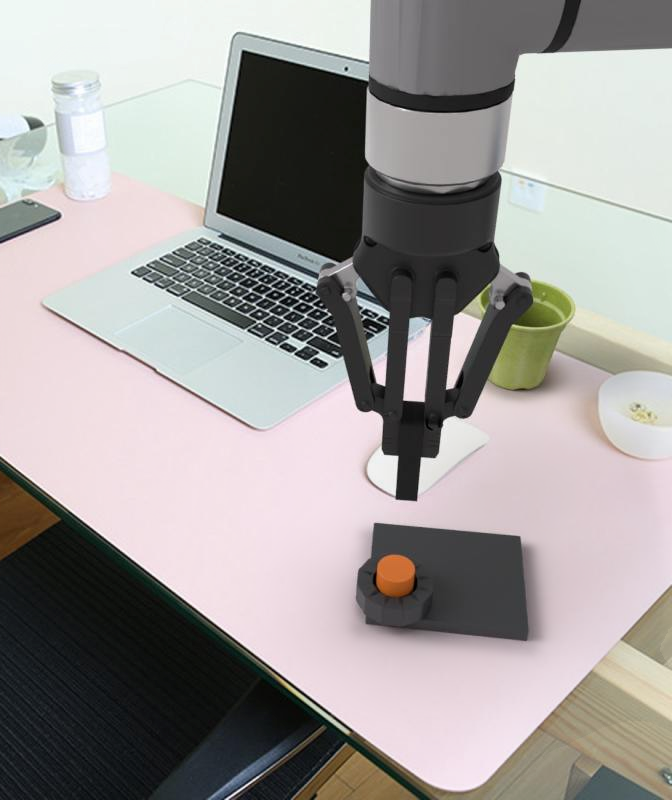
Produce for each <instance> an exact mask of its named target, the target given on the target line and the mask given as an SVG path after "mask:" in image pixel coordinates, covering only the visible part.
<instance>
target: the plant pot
mask: <svg viewBox="0 0 672 800" xmlns="http://www.w3.org/2000/svg"><path fill="white" fill-rule="evenodd" d="M531 286H532V294H533V304H532V306H531V307H530V308H529V309H528V310H527V311H526V312H525V313H524V314H523V315H522V316H521V317H520V318H519V319H518V320H517V321H516V322H515V323H514V324H513V325H512V326H511V328H510V330H509V333H508V335H507V337H506V339H505V342H504V344H503V346H502V348H501V351H500V353H499V355H498V357H497V359H496V362H495V364H494V366H493V368H492V371H491V373H490V375H489V377H488V380H489V381H490V382H491V383H493V384H494V385H496V386H498V387H500V388H503V389H507V390H511V391H513V390H517V389H526V390H531V389H534V388H536V387H539V386H540V385H541V384H542V382H543V381H544V379H545V377H546V374H547V371H548V368H549V366H550V364H551V359H552V357H553V355H554V352H555V350H556V347H557V345H558V342H559V340H560V336H561V334H562V332H563V331H564V330H565V329H566V327H567V325H568V324H569V323H570V322H571V321H572V320H573V318H574V316H575V313H576V304H575V301H574V299H573V298H572V297H571V296H570V295H569V294H568V293H567V292H565V291H564V290H563V289H561V288H559V287H557V285H556V286H555V285H553V284H552V283H551V284H550V283H548V282H545V281H542V280H537V279H531ZM490 287H491V284H489V285H488V286H487V287H486V288H485V289H484V290H483V291H482V292H481V293H480V294H479V295H478V296H477V306H478V308H479V310H480V314H481V320H482V319H483V316H484V314H485V312H486V309H487V307H488V305H489V303H490V300H489V289H490Z"/></svg>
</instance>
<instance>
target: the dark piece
mask: <svg viewBox="0 0 672 800" xmlns="http://www.w3.org/2000/svg"><path fill="white" fill-rule="evenodd" d="M372 528H373V529H372V540H371V549H370V557H369V558H368V559H367V560H366V561H365V562H364V563H363V564H362V565H361V567H359V569H357V570H358V571H357V578H356V589H355V601H356V603H357V605H358V606H359V608H360V610H361V611H362V613H363V615H365V618H364V619H365V620H364V622H365V623H364V624H365V625H369V626H380V627H389V628H397V629H399V628H400V629H407V630H408V629H409V630H418V631H427V632H428V631H429V632H437V633H446V634H454V635H456V634H457V635H465V636H473V637H483V638H494V639H501V640H502V639H503V640H510V641H511V640H512V641H521V642H527V640H528V636H529V632H530V631H529V629H530V628H529V618H528V608H527V607H528V606H527V596H526V595H527V594H526V583H525V571H524V562H523V561H524V559H523V549H522V548H523V547H522V538H521V536H520V535H512V534H501V533H491V532H480V531H470V530H461V529H460V530H458V529H448V528H438V527H437V528H436V527H425V526H415V525H405V524H393V523H392V524H391V523H384V522H373V527H372ZM389 555H401V556H404V557H406V558H408V559H409V560H411V561H412V563H413V564H414V566H415V577H414V586H413V590H412V591H411V592H410V593H409V594H408V595H407V596H404V597H401V598H392V597H388V596H386V595H384V594H383V593H381V592H380V591H379V589H378V587H377V584H376V580H377V567H378V563H379V561H380V560H381V559H382V558H384V557H386V556H389Z"/></svg>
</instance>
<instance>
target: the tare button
mask: <svg viewBox="0 0 672 800" xmlns="http://www.w3.org/2000/svg"><path fill="white" fill-rule="evenodd" d="M414 577H415V566H414V564H413V563H412V561H411V560H409V559H408V558H406V557H404V556H401V555H389V556H386V557H384V558H382V559H381V560H380V561H379V563H378V567H377V580H376V584H377V587H378V589H379V591H380V592H381V593H383V594H384V595H386V596H388V597H392V598H401V597H404V596H407V595H408V594H409V593H410V592H411V591H412V590H413V586H414Z"/></svg>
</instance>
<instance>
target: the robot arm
mask: <svg viewBox="0 0 672 800" xmlns="http://www.w3.org/2000/svg"><path fill="white" fill-rule="evenodd" d="M369 12H370V13H369V15H370V16H369V51H368V52H369V55H368V56H369V57H368V86H367V87H366V107H365V108H366V109H365V139H364V143H365V144H364V157H365V160H366V162H367V164H368V166H367V167H366V168H365V170H364V174H363V176H364V178H363V199H362V226H361V231H362V232H361V236H360V237H359V239H358V241H357V242H356V243H355V245H354V248H353V255H352V256H351V257H350V258H348V259H346V260H343V261H341V262H340V263H338V264H335V263H333V262H325V263H324V264H322V265H321V266H320V268H319V273H318V279H317V283H316V287H315V293H316V295H317V297H318V298H319V300H320V301H321V303H322V304H323V305H324V306H325V308H326V309H327V310H328V312H329V314H330V315H331V316H332V319H333V323H334V327H335V330H336V334H337V338H338V342H339V347H340V350H341V353H342V358H343V361H344V365H345V369H346V373H347V377H348V380H349V384H350V388H351V392H352V396H353V399H354V405H355V407H356V409H357V410H358V411H359V412H361V413H369V412H371V411H372V412H375V413H377V414H378V415H380V417H381V418H382V433H381V451H382V453H383V455H384V456H392V457H394V456H395V457H397V467H396V468H397V469H396V484H395V500H396V501H408V502H418V495H419V488H420V487H419V485H420V474H421V465H422V464H421V463H422V458H424V459H436V458H437V457H438V456H439V454H440V448H441V447H440V446H441V439H442V438H441V436H442V429H443V427H444V421H446V420H447V419H450V418H453V417H456V418H458V419H461V420H465V419H468V418H471V416H472V415H473V413H474V411H475V408H476V406H477V404H478V402H479V399H480V398H481V395H482V393H483V390H484V389H485V386H486V384H487V382H488V380H489V379H488V377H489V375H490V373H491V371H492V368H493V366H494V364H495V362H496V359H497V357H498V355H499V353H500V351H501V348H502V346H503V344H504V342H505V339H506V337H507V335H508V333H509V330H510V328H511V326H512V325H513V324H514V323H515V322H516V321H517V320H518V319H519V318H520V317H521V316H522V315H523V314H524V313H525V312H526V311H527V310H528V309H529V308H530V307H531V306H532V304H533V294H532V286H531V280H532V278H531V276H530V275H529V274H528V273H527V272H525V271H518V272H515V273H514V272H513V271H512V270H510V269H508V268H507V267H505V265H503V264H502V263H501V262H500V252H499V249H498V248H497V246H496V243H495V236H496V229H497V222H498V214H499V206H500V198H501V190H502V183H503V179H502V175H501V173H500V171H499V170H500V169H501V168H502V167H503V165H504V164H505V161H506V153H507V144H508V138H509V137H508V136H509V127H510V120H511V113H512V105H513V104H512V103H513V96H514V91H515V84H516V70H517V66H518V62H519V59H520V56H523V55H525V54H526V55H527V54H538V55H539V54H556V53H581V52H583V53H584V52H608V51H609V52H611V51H612V52H613V51H614V52H615V51H636V50H637V51H639V50H666V49H667V50H669V49H670V50H671V49H672V0H370V11H369ZM358 279H360V280H361V281H362V282H363V283H364V285H365V286H366V288H367V289H368V290H369V292H370V293H371V294H372V296H373V297H374V298H375V300H376V301H377V302H378V303H379V305H380V306H381V307H382V308H383V309H384V310H385V311H387V313H389V314H388V315H389V317H388V331H387V332H388V333H387V334H388V335H387V350H386V367H385V380H384V381H385V383H384V385H383V384H380V383H378V382H377V377H376V373H375V370H374V366H373V361H372V357H371V353H370V349H369V344H368V340H367V337H366V333H365V327H364V323H363V319H362V316H361V315H362V314H361V312H360V311H361V310H360V307H359V304H358V303H359V302H358V299H357V295H358V290H359V281H358ZM489 284H491V287H490V289H489V300H490V303H489V305H488V307H487V309H486V312H485V314H484V316H483V319H482V318H481V321H480V323H479V326H478V328H477V330H476V333H475V335H474V338H473V340H472V343H471V346H470V347H469V349H468V352H467V355H466V357H465V359H464V361H463V364H462V365H461V368H460V371H459V373H458V376H457V377H456V380H455V383H454V385H453V387H452V388H447V385H448V384H447V383H448V376H449V375H448V374H449V365H450V355H451V346H452V338H453V331H454V322H455V316H457V315H459V314H460V313H462V312H463V311H464V310H465V309H466V308H467V307H468V306H469V305H470V304H471V303H472V302H473V301H474V300H475V299H476V298H478V295H479V294H480V293H481V292H482V291H483V290H484V289H485V288H486V287H487V286H488V285H489ZM414 318H415V319H416V318H424V319H428V320H430V331H429V341H428V354H427V366H426V377H425V388H424V401H417V400H406V399H404V397H405V384H406V371H407V370H406V369H407V357H408V344H409V333H410V320H411V319H414Z"/></svg>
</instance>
